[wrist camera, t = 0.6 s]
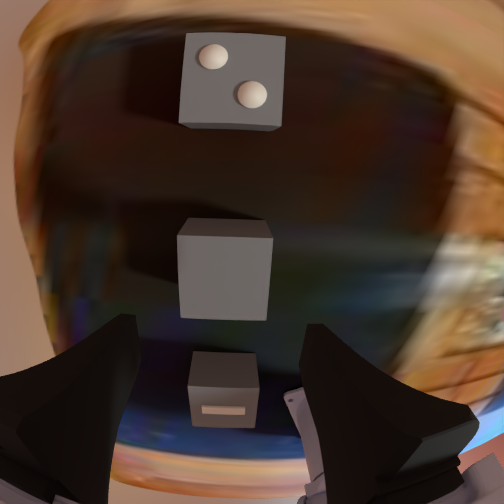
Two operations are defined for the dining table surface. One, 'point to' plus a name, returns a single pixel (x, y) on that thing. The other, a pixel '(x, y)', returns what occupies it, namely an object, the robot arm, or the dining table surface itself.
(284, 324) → the dining table surface
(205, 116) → the dotted block
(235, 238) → the plain block
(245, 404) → the barred block
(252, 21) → the dining table surface
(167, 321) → the dining table surface
